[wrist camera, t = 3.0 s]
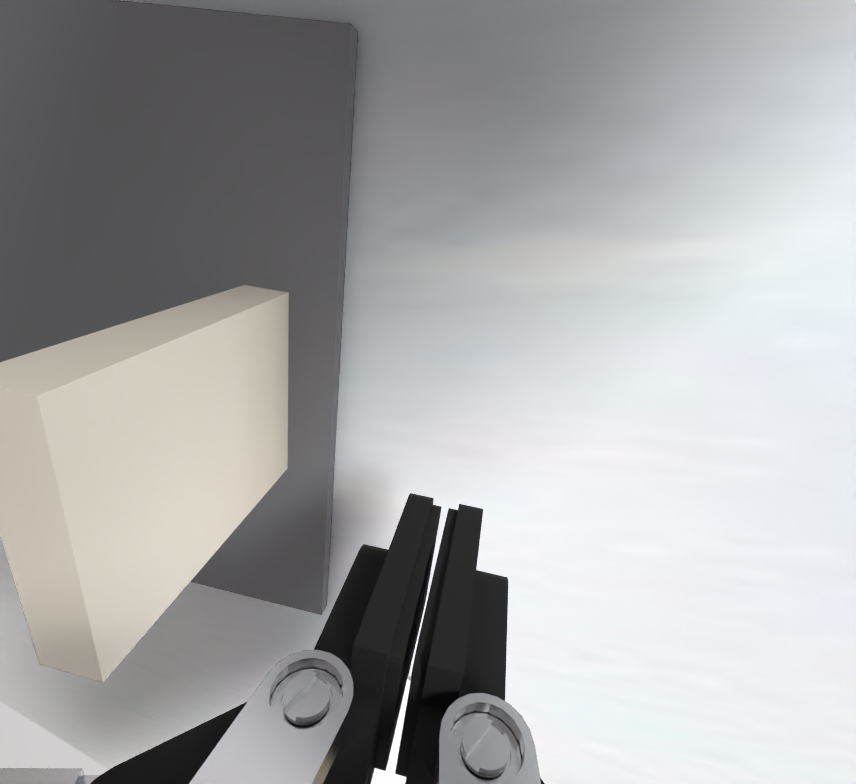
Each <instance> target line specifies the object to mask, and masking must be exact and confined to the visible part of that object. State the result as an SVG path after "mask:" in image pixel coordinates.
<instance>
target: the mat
mask: <svg viewBox="0 0 856 784" xmlns="http://www.w3.org/2000/svg"><path fill="white" fill-rule="evenodd" d="M357 36H358V31H357V30H356V29H355V28H354V27H353V26H352V25H351V24H348V23H338V22H329V21H319V20H309V19H299V18H289V17H279V16H269V15H259V14H249V13H239V12H229V11H219V10H209V9H199V8H189V7H179V6H169V5H159V4H149V3H139V2H129V1H119V0H0V362H3V361H6V360H9V359H12V358H16V357H19V356H22V355H25V354H28V353H31V352H35V351H38V350H41V349H44V348H47V347H50V346H53V345H57V344H60V343H63V342H66V341H69V340H72V339H75V338H79V337H82V336H85V335H88V334H91V333H94V332H98V331H101V330H104V329H107V328H110V327H113V326H116V325H120V324H123V323H126V322H129V321H132V320H135V319H138V318H142V317H145V316H148V315H151V314H154V313H157V312H161V311H164V310H167V309H170V308H173V307H176V306H179V305H183V304H186V303H189V302H192V301H195V300H198V299H201V298H205V297H208V296H211V295H214V294H217V293H220V292H224V291H227V290H230V289H233V288H236V287H239V286H242V285H248V286H254V287H259V288H265V289H271V290H277V291H283V292H289V333H288V469H287V470H286V471H285V472H284V473H283V474H282V475H281V477H280V478H279V479H278V480H277V481H276V482H275V484H274V485H273V486H272V487H271V488H270V489H269V491H268V492H267V493H266V494H265V495H264V496H263V498H262V499H261V500H260V501H259V502H258V503H257V505H256V506H255V507H254V508H253V509H252V510H251V512H250V513H249V514H248V515H247V516H246V517H245V519H244V520H243V521H242V522H241V523H240V524H239V526H238V527H237V528H236V529H235V530H234V531H233V532H232V534H231V535H230V536H229V537H228V538H227V539H226V541H225V542H224V543H223V544H222V545H221V546H220V548H219V549H218V550H217V551H216V552H215V553H214V555H213V556H212V557H211V558H210V559H209V560H208V562H207V563H206V564H205V565H204V566H203V567H202V569H201V570H200V571H199V572H198V573H197V574H196V576H195V577H194V578H193V579H192V580H191V582H195V583H199V584H202V585H206V586H210V587H214V588H218V589H222V590H226V591H230V592H234V593H238V594H242V595H246V596H250V597H254V598H257V599H261V600H265V601H269V602H273V603H277V604H281V605H285V606H289V607H293V608H297V609H301V610H305V611H309V612H313V613H316V614H320V615H322V613H323V611H324V609H325V607H326V605H327V591H328V572H329V554H330V535H331V517H332V498H333V480H334V461H335V443H336V425H337V406H338V388H339V369H340V351H341V332H342V314H343V295H344V277H345V258H346V240H347V221H348V203H349V184H350V166H351V147H352V129H353V110H354V92H355V73H356V55H357Z"/></svg>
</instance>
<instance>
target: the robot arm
mask: <svg viewBox="0 0 856 784" xmlns="http://www.w3.org/2000/svg"><path fill="white" fill-rule="evenodd" d="M440 513H441V507H440V506H436V505H433V498H429V497H425V496H420V495H416V494H411V493H410V495H409V497H408V499H407V502H406V505H405V507H404V510H403V513H402V516H401V518H400V521H399V524H398V526H397V529H396V532H395V534H394V537H393V540H392V542H391V545H390V548H389V550H386V549H382V548H378V547H373V546H369V545H365V544H363V545H362V547H361V548H360V550H359V552H358V554H357V557H356V559H355V561H354V563H353V565H352V567H351V570H350V572H349V574H348V576H347V578H346V581H345V583H344V585H343V587H342V589H341V592H340V594H339V596H338V598H337V600H336V602H335V605H334V607H333V609H332V611H331V613H330V616H329V618H328V620H327V622H326V624H325V627H324V629H323V631H322V633H321V635H320V637H319V640H318V642H317V644H316V646H315V648H314V650H304V651H301V652H297V653H294V654H291V655H289V656H288V657H286V658H285V659H283V660H281V661H280V662H278V663H277V664H276V665H275V666H274V667H273V669H272V670H271V671H270V672H269V673H268V674H267V675H266V677H265V678H264V680H263V681H262V682H261V684H260V685H259V687H258V688H257V689H256V691H255V692H254V694H253V695H252V696H251V698H250V699H249V701H248V702H246V703H244V704H242V705H240V706H238V707H236V708H234V709H232V710H230V711H228V712H226V713H224V714H221V715H219V716H217V717H215V718H213V719H211V720H209V721H207V722H205V723H203V724H201V725H199V726H197V727H195V728H193V729H191V730H189V731H187V732H185V733H182V734H180V735H178V736H176V737H174V738H172V739H170V740H168V741H166V742H164V743H162V744H160V745H158V746H156V747H154V748H152V749H150V750H148V751H146V752H144V753H141V754H139V755H137V756H135V757H133V758H131V759H129V760H127V761H125V762H123V763H121V764H119V765H117V766H115V767H113V768H112V769H110V770H108V771H107V772H105V773H104V774H102V775H98V776H97V775H95V776H94V775H91V776H90V775H88V776H87V775H86V776H85V775H84V773H83V769H37V768H32V769H30V768H29V769H28V768H20V769H19V768H18V769H17V768H16V769H15V768H14V769H13V768H11V769H10V768H6V769H5V768H0V784H371V781H372V777H373V773H374V769H375V768H376V769H380V770H383V771H386V768H387V764H388V760H389V755H390V751H391V747H392V743H393V738H394V734H395V730H396V725H397V721H398V717H399V713H400V708H401V704H402V700H403V695H404V691H405V687H406V683H407V678H408V674H409V670H410V665H411V661H412V657H413V653H414V648H415V644H416V640H417V635H418V631H419V627H420V623H421V618H422V614H423V610H424V605H425V600H426V595H427V589H428V583H429V577H430V571H431V566H432V560H433V554H434V548H435V542H436V536H437V530H438V524H439V519H440ZM482 514H483V509H480V508H476V507H471V506H466V505H462V504H459V508H458V510H454V509H449V510H448V514H447V518H446V523H445V527H444V531H443V536H442V540H441V544H440V549H439V553H438V558H437V562H436V566H435V571H434V575H433V580H432V584H431V588H430V593H429V597H428V601H427V606H426V610H425V615H424V619H423V623H422V628H421V632H420V636H419V641H418V645H417V650H416V655H415V660H414V665H413V670H412V676H411V682H410V688H409V693H408V699H407V705H406V711H405V717H404V723H403V729H402V735H401V741H400V747H399V753H398V759H397V764H396V770H395V774H397V775H401V776H404V777H406V782H405V784H544V782H543V781H542V779H541V778H540V774H539V768H538V762H537V756H536V750H535V745H534V741H533V738H532V735H531V732H530V729H529V727H528V726H527V724H526V722H525V721H524V719H523V717H522V716H521V715H520V714H519V713H518V712H517V711H516V710H515V709H514V708H513V707H512V706H511V705H510V704H509V703H507V702H505V677H506V641H507V606H508V579H507V577H503V576H498V575H494V574H490V573H486V572H481V571H477V570H476V566H477V557H478V549H479V540H480V531H481V523H482Z"/></svg>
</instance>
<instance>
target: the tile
mask: <svg viewBox="0 0 856 784" xmlns="http://www.w3.org/2000/svg"><path fill="white" fill-rule="evenodd" d="M288 333H289V292H283V291H277V290H271V289H265V288H259V287H254V286H248V285H242V286H239V287H236V288H233V289H230V290H227V291H224V292H220V293H217V294H214V295H211V296H208V297H205V298H201V299H198V300H195V301H192V302H189V303H186V304H183V305H179V306H176V307H173V308H170V309H167V310H164V311H161V312H157V313H154V314H151V315H148V316H145V317H142V318H138V319H135V320H132V321H129V322H126V323H123V324H120V325H116V326H113V327H110V328H107V329H104V330H101V331H98V332H94V333H91V334H88V335H85V336H82V337H79V338H75V339H72V340H69V341H66V342H63V343H60V344H57V345H53V346H50V347H47V348H44V349H41V350H38V351H35V352H31V353H28V354H25V355H22V356H19V357H16V358H12V359H9V360H6V361H3V362H0V537H1V540H2V543H3V547H4V550H5V553H6V556H7V560H8V563H9V566H10V570H11V573H12V576H13V579H14V583H15V586H16V589H17V592H18V596H19V599H20V602H21V605H22V609H23V612H24V615H25V618H26V622H27V625H28V628H29V631H30V635H31V638H32V641H33V645H34V648H35V651H36V654H37V658H38V661H39V664H40V665H44V666H47V667H51V668H54V669H58V670H61V671H65V672H68V673H71V674H75V675H78V676H82V677H85V678H89V679H92V680H96V681H99V682H103V683H104V681H105V680H106V679H107V678H108V677H109V676H110V674H111V673H112V672H113V671H114V670H115V669H116V667H117V666H118V665H119V664H120V663H121V662H122V660H123V659H124V658H125V657H126V656H127V655H128V653H129V652H130V651H131V650H132V649H133V648H134V646H135V645H136V644H137V643H138V642H139V641H140V639H141V638H142V637H143V636H144V635H145V634H146V633H147V631H148V630H149V629H150V628H151V627H152V626H153V624H154V623H155V622H156V621H157V620H158V619H159V617H160V616H161V615H162V614H163V613H164V612H165V610H166V609H167V608H168V607H169V606H170V605H171V603H172V602H173V601H174V600H175V599H176V598H177V596H178V595H179V594H180V593H181V592H182V591H183V589H184V588H185V587H186V586H187V585H188V584H189V583H190V581H191V580H192V579H193V578H194V577H195V576H196V574H197V573H198V572H199V571H200V570H201V569H202V567H203V566H204V565H205V564H206V563H207V562H208V560H209V559H210V558H211V557H212V556H213V555H214V553H215V552H216V551H217V550H218V549H219V548H220V546H221V545H222V544H223V543H224V542H225V541H226V539H227V538H228V537H229V536H230V535H231V534H232V532H233V531H234V530H235V529H236V528H237V527H238V526H239V524H240V523H241V522H242V521H243V520H244V519H245V517H246V516H247V515H248V514H249V513H250V512H251V510H252V509H253V508H254V507H255V506H256V505H257V503H258V502H259V501H260V500H261V499H262V498H263V496H264V495H265V494H266V493H267V492H268V491H269V489H270V488H271V487H272V486H273V485H274V484H275V482H276V481H277V480H278V479H279V478H280V477H281V475H282V474H283V473H284V472H285V471H286V470H287V469H288Z"/></svg>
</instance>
